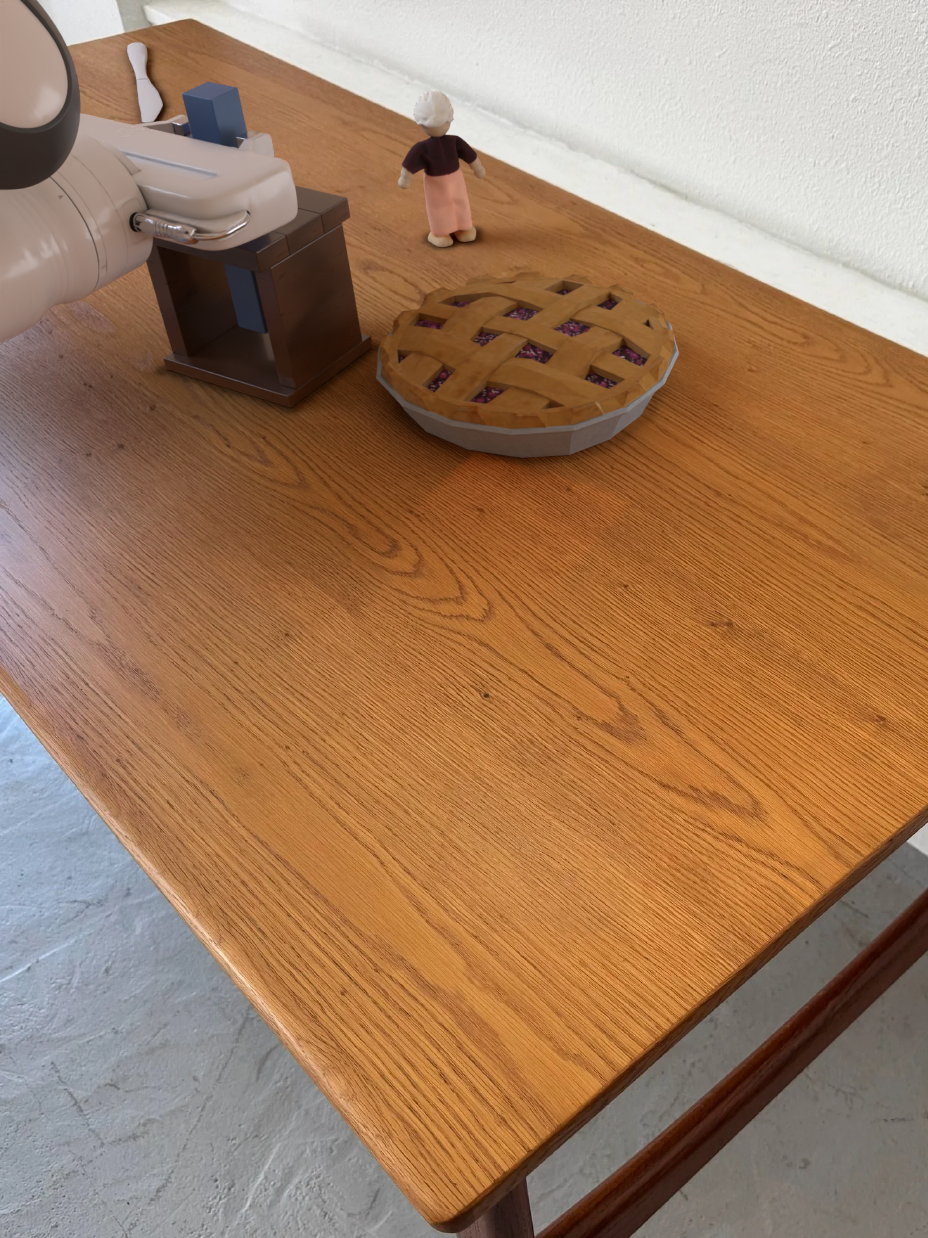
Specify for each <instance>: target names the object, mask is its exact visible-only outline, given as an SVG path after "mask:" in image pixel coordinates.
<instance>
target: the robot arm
mask: <svg viewBox="0 0 928 1238" xmlns="http://www.w3.org/2000/svg"><path fill="white" fill-rule="evenodd" d="M77 73H78V72H77V70H76V66H75V63H74V60H73V57H72V54H71V52H70V49H69V48H68V45H67V43H66V41H65V38H64V37H63V35H62V33H61V32H60V30H59V28H58V27H57V25H56V24H55V22H54V21H53V19H52V18H51V16H50V15H49V13H48V12H47V11H46V9H45V8H44V6H42V5H41V3H40V2H39V1H38V0H0V345H3V344H4V343H6V342H8V341H10V340H12V339H14V338H16V337H18V336H19V335H21V334H23V333H25V332H26V331H28V330H30V329H31V328H33V327H35V325H37V324H38V323H39V322H40V321H41V320H42V318H43V317H44V316H45V315H46V314H47V313H48V312H49V311H50V310H51V309H53V308H54V307H56V306H59V305H65V304H70V303H75V302H78V301H81V300H83V299H85V298H87V297H89V296H90V295H92V294H94V293H95V292H97V291H100V290H101V289H103V288H105V287H106V286H108V285H110V284H112V283H113V282H116V281H117V280H119V279H121V278H122V277H124V276H126V275H127V274H129V273H131V272H133V271H135V270H137V269H139V268H140V267H142V266H143V265H144V264H145V263H146V260H147V259H148V257H149V255H150V253H151V250H152V245H153V237H155V238H159V239H163V240H167V241H171V242H174V243H178V244H182V245H186V246H189V247H193V248H197V249H202V250H209V251H217V250H225V249H229V248H233V247H236V246H239V245H242V244H244V243H247V242H249V241H252V240H254V239H256V238H258V237H261V236H263V235H265V234H267V233H269V232H271V231H273V230H275V229H278V228H280V227H282V226H284V225H285V224H287V223H289V222H291V221H292V220H293V219H294V218H295V217H296V215H297V211H298V203H297V195H296V189H295V186H296V183H295V181H294V177H293V172H292V169H291V166H290V164H289V162H288V161H286V160H285V159H283V158H280V157H276V156H275V149H274V145H273V140H272V135H270V134H269V133H267V132H262V131H258V130H251V129H249V130H247V133H243V134H241V135H239V136H237V137H236V140H237V144H238V147H239V148H238V149H237V148H235V147H228V146H224V145H219V144H215V143H211V142H206V141H202V140H197V139H193V138H192V134H191V130H190V126H189V121H188V117H187V114H186V115H185V114H178V115H175V116H174V117H171V118H169V119H167V120H159V121H158V120H157V121H154V122H150V123H143V122H142V123H135V124H131V123H126V122H122V121H119V120H113V119H109V118H105V117H101V116H96V115H92V114H88V113H82V112H81V111H82V109H81V107H82V105H81V92H80V83H79V78H78V77H79V76H78V74H77Z"/></svg>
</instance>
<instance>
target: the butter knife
mask: <svg viewBox="0 0 928 1238" xmlns="http://www.w3.org/2000/svg"><path fill="white" fill-rule="evenodd" d="M126 52H127V56H128V59H129V62H130V63H131V66H132V68H133V72H134V75H135V81H136V89H137V100H138V105H139V110H140V116H141V117H140V118H141V122H142V123H150V122H155V120H156V119H157V118H158V115H159V114H160V112H161V110H162V109H163V100H162V98H161V96H160V93H159V91H158V90H157V88H156V87H155V86H154V84H152V82H151V80H150V78H149V77H148V74H147V64H148V63H147V62H148V49H147V46H146V45H145V44H144V43H142V42H139V41H138V42H131V43H129V44H128V45H127V47H126Z"/></svg>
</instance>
